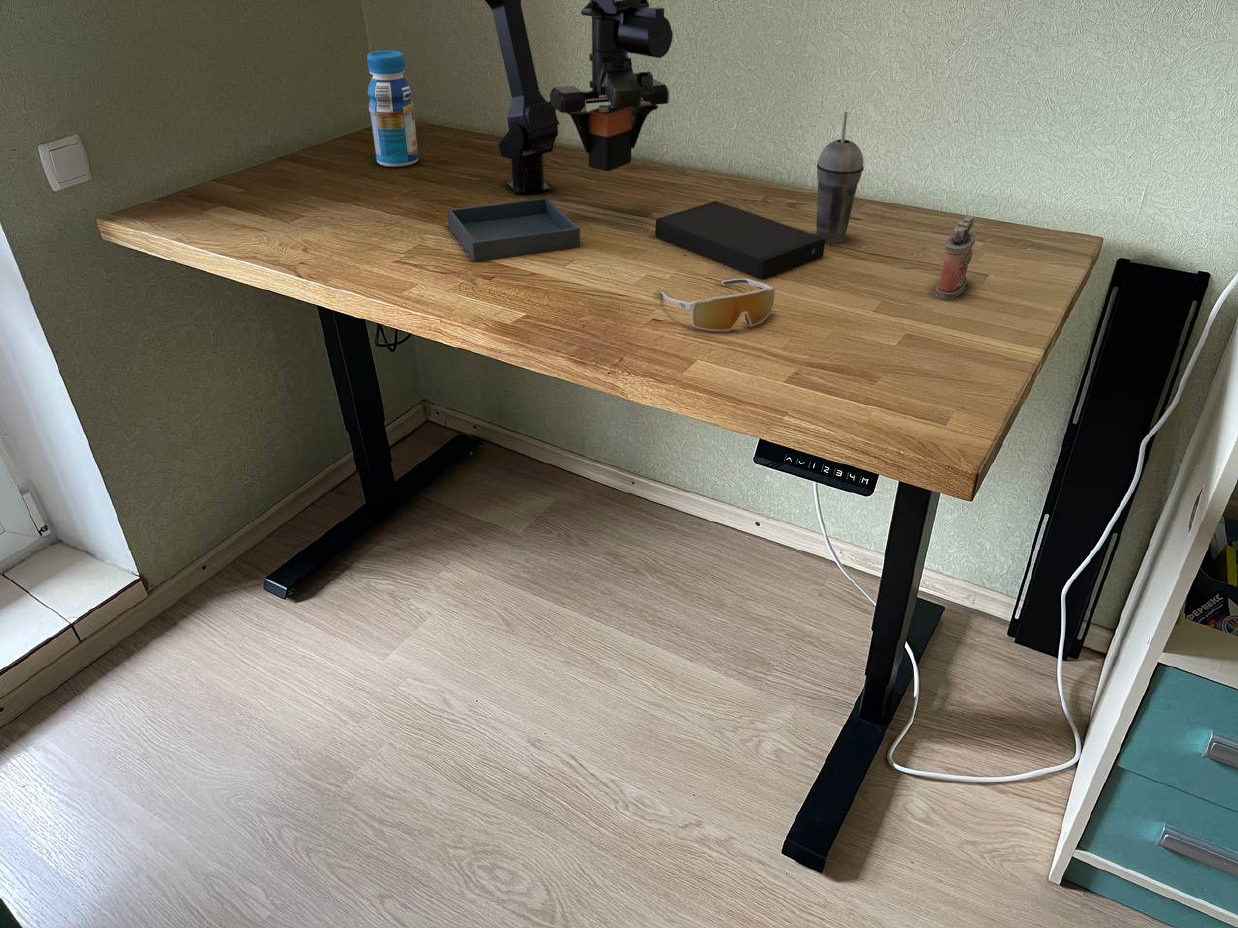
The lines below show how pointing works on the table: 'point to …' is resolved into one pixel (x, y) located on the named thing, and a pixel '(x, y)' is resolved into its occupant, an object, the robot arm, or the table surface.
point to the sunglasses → (729, 307)
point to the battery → (610, 137)
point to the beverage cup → (837, 186)
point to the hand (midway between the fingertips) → (609, 150)
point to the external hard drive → (740, 239)
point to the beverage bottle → (391, 110)
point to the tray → (512, 229)
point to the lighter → (956, 260)
